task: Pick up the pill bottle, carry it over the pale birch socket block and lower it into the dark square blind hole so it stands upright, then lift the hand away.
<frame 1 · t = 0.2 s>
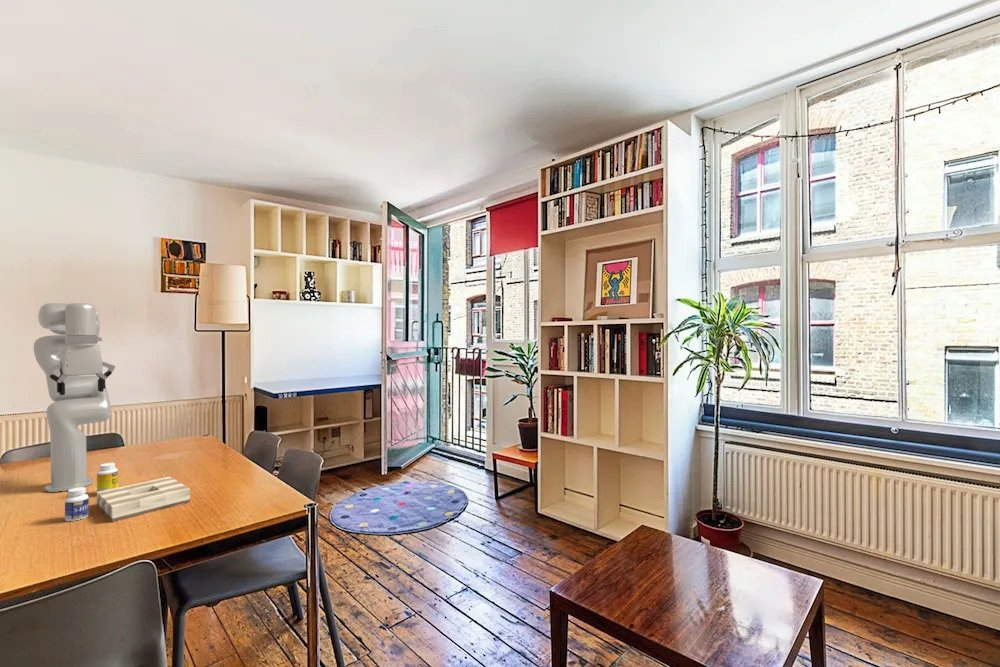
hand: (81, 392, 151), 36 cm above the table, tool pointing down, fingers open, 9 cm apart
socket block: (144, 504, 150), on the table
pill bottle: (77, 519, 139), on the table
supplement bottle: (107, 494, 160), on the table
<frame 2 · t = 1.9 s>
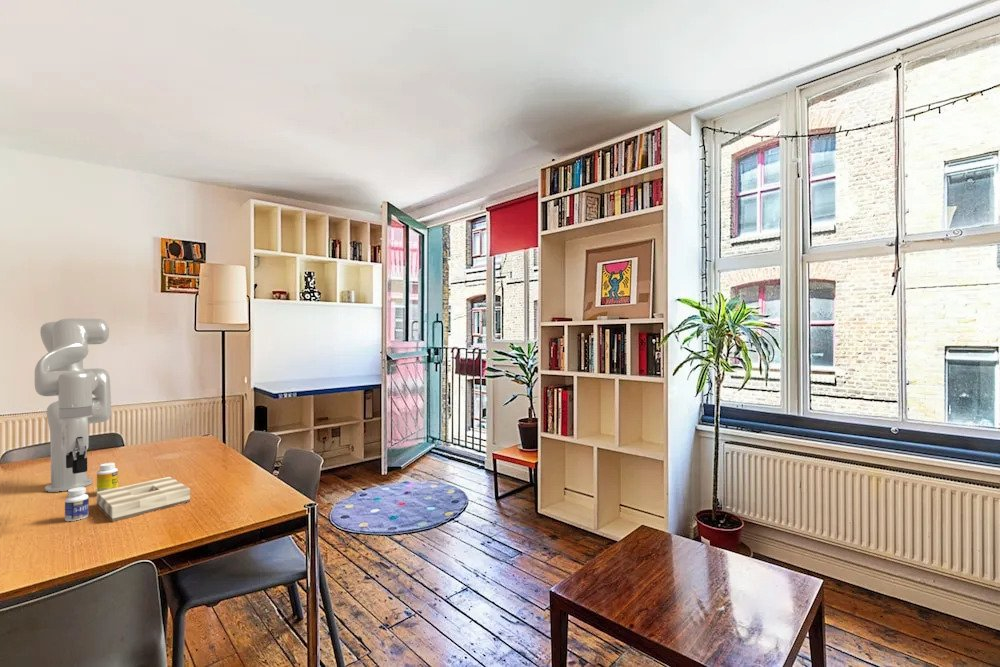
hand: (76, 469, 139), 15 cm above the table, tool pointing down, fingers open, 9 cm apart
nothing on the table moved.
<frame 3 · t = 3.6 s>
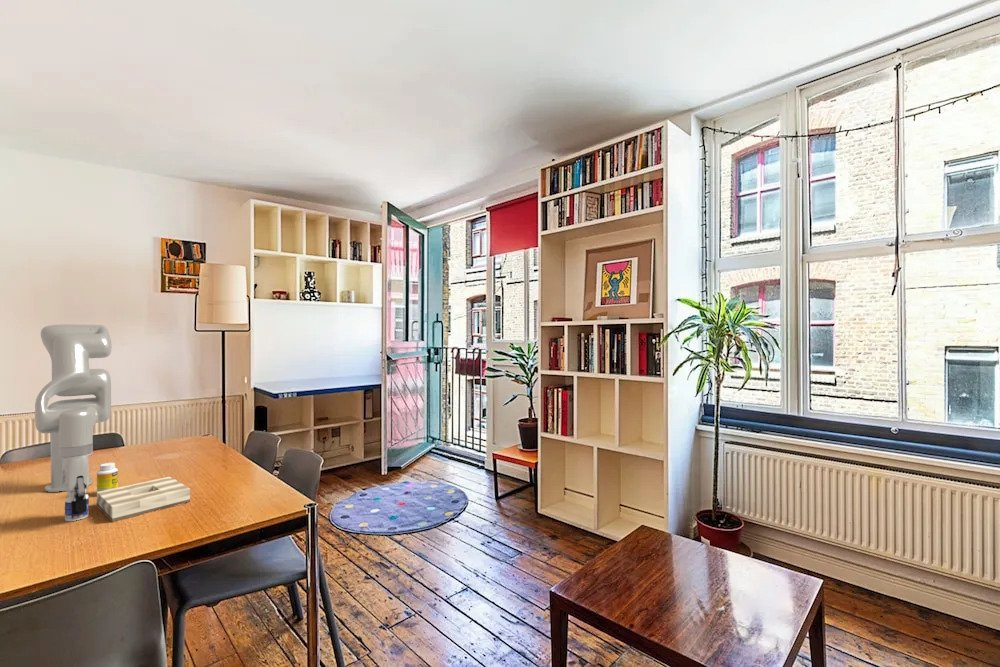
hand: (76, 510, 139), 2 cm above the table, tool pointing down, fingers closed on pill bottle, 5 cm apart
pill bottle: (77, 518, 139), on the table, touching gripper
everything else where it was.
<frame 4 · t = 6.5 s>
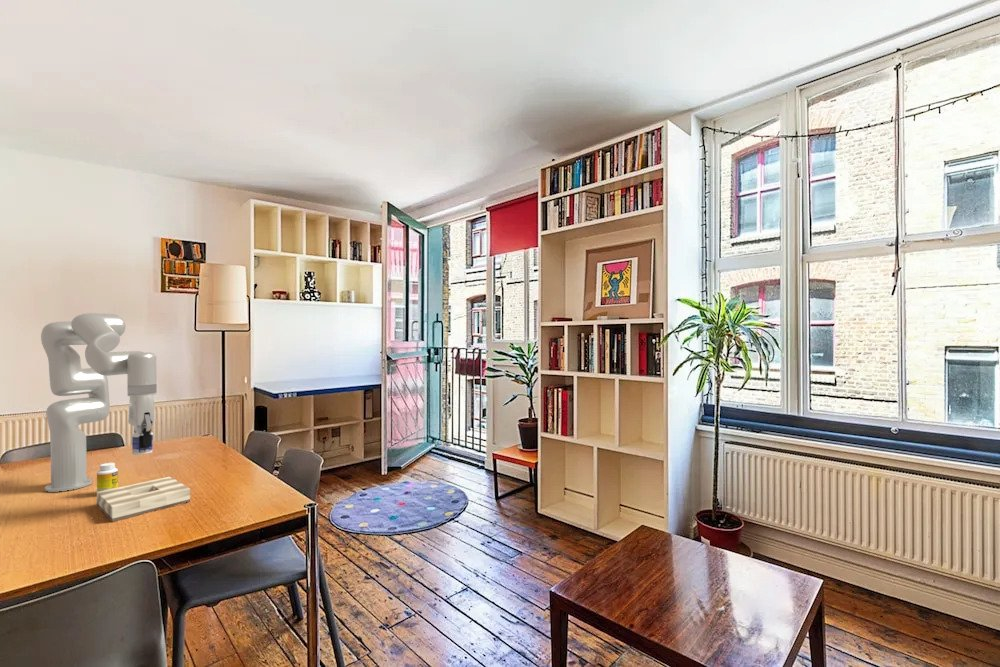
hand: (142, 445, 150), 19 cm above the table, tool pointing down, fingers closed on pill bottle, 5 cm apart
pill bottle: (142, 453, 150), point 17 cm above the table, touching gripper
everything else where it was.
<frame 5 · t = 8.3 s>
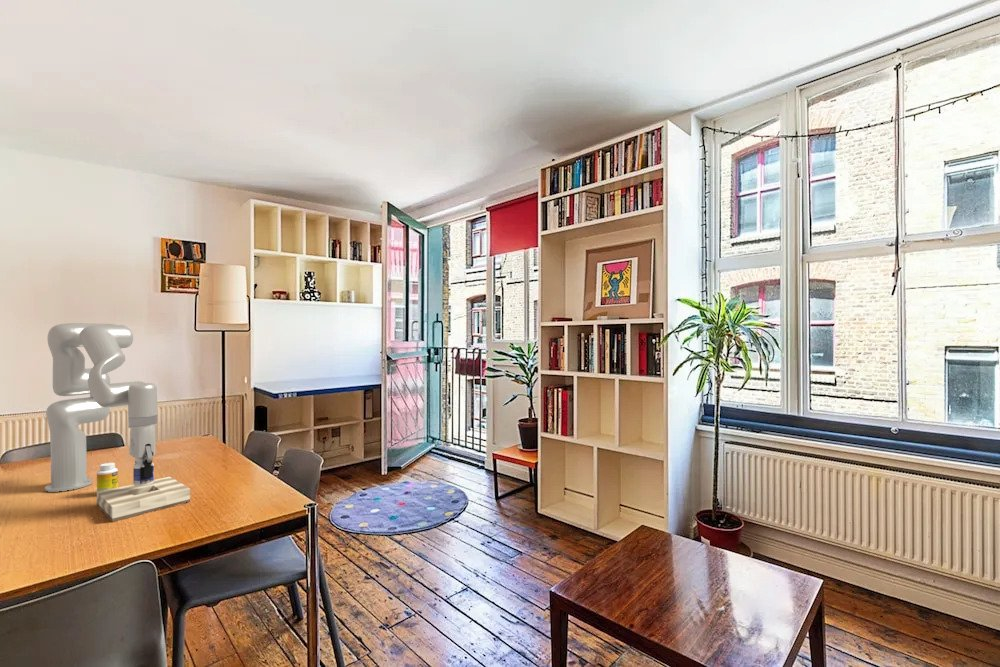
hand: (143, 476, 150), 9 cm above the table, tool pointing down, fingers closed on pill bottle, 5 cm apart
pill bottle: (143, 484, 150), point 6 cm above the table, touching gripper
everything else where it was.
when the fingers open (5 cm above the table, at t = 9.5 s): pill bottle drops 2 cm, resting on socket block.
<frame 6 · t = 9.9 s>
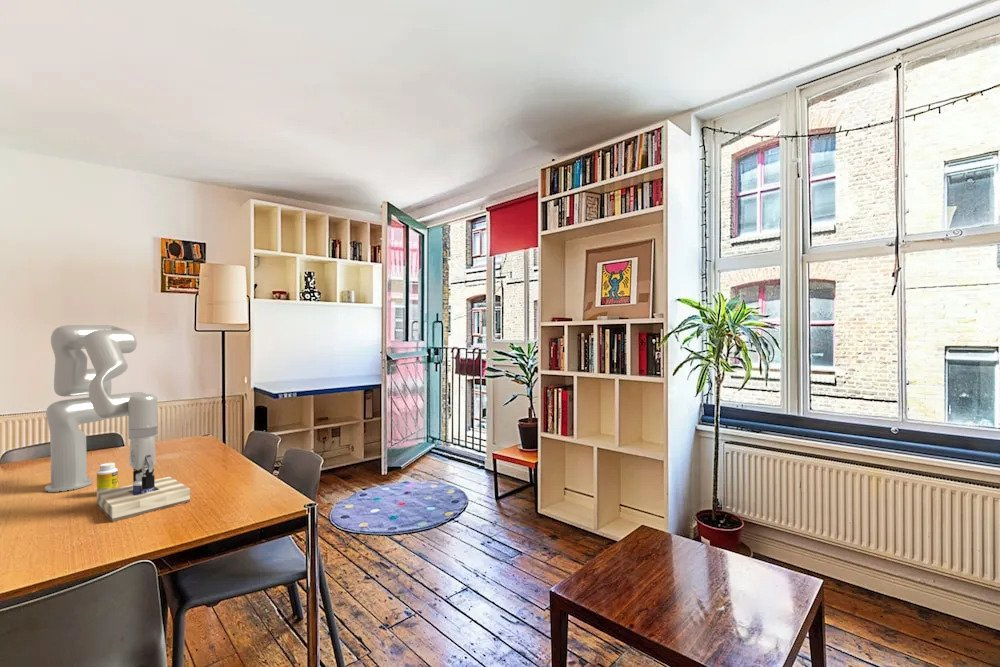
hand: (143, 484, 150), 6 cm above the table, tool pointing down, fingers open, 9 cm apart
pill bottle: (143, 501, 151), point 1 cm above the table, touching socket block
everything else where it was.
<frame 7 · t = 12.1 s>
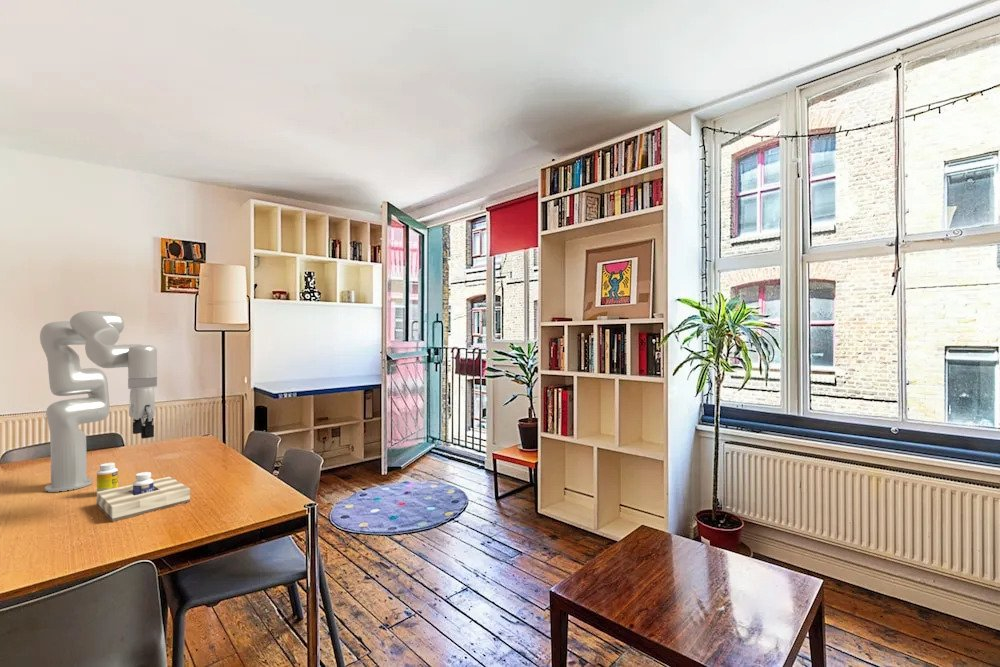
hand: (143, 435, 151), 22 cm above the table, tool pointing down, fingers open, 9 cm apart
nothing on the table moved.
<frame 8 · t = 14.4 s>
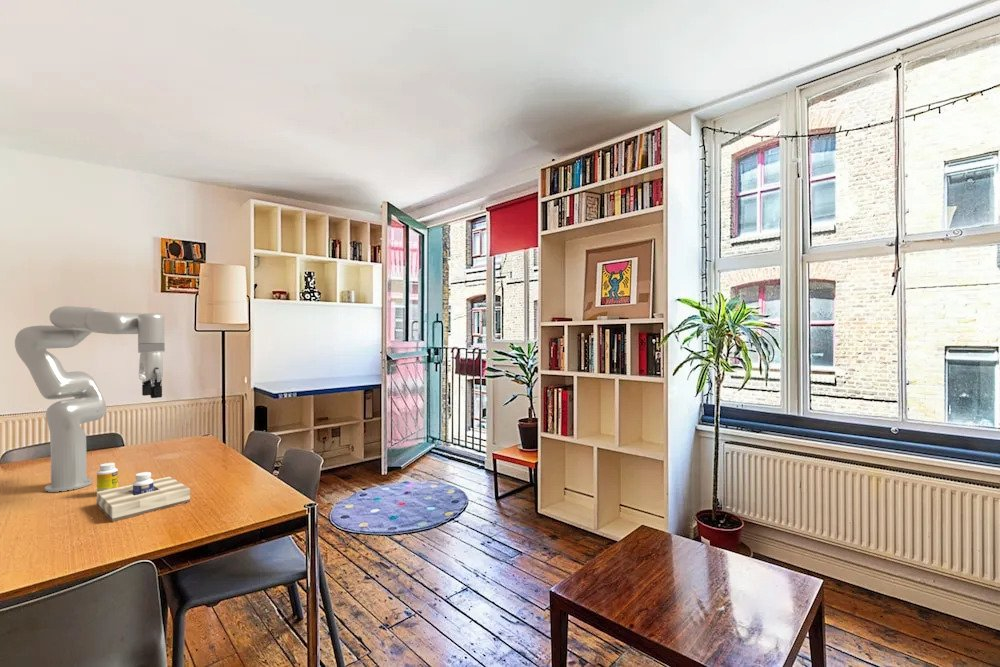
hand: (152, 396, 163), 33 cm above the table, tool pointing down, fingers open, 9 cm apart
nothing on the table moved.
at the end: pill bottle 0.3 cm off-centre on the socket block, point 0.8 cm above the socket block's base; pill bottle tilted 0°; the gripper is holding nothing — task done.
